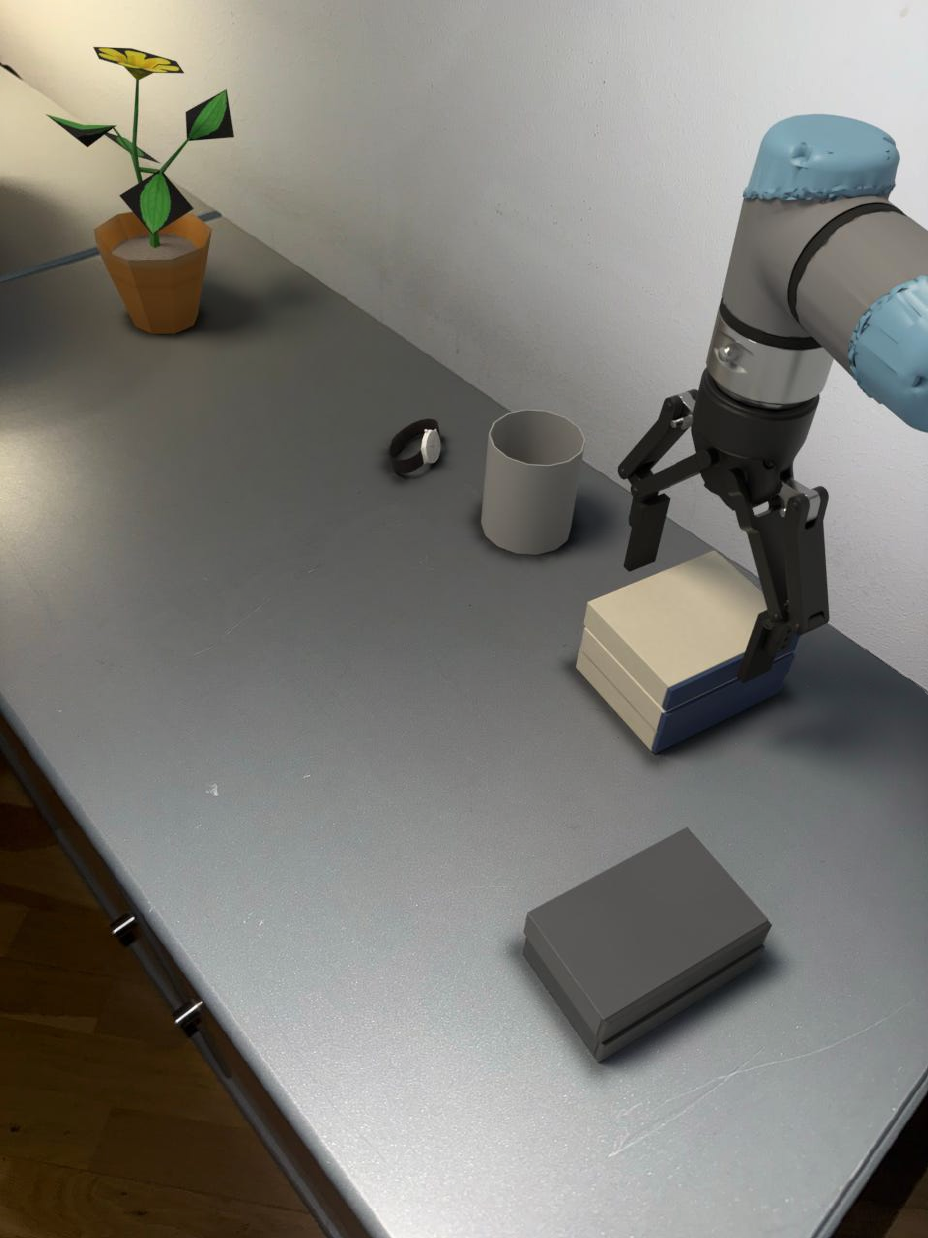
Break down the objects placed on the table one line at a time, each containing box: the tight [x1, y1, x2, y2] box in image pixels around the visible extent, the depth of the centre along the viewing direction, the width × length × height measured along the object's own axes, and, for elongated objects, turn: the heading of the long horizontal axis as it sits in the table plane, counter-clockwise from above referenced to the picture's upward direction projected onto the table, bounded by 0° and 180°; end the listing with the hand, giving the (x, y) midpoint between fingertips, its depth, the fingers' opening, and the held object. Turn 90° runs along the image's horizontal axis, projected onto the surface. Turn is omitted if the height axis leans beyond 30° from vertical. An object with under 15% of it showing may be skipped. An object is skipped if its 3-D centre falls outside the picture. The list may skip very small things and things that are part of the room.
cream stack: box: [575, 626, 796, 754], centre depth 87 cm, size 10×13×5 cm
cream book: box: [583, 549, 801, 711], centre depth 85 cm, size 10×13×2 cm
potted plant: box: [45, 46, 235, 335], centre depth 114 cm, size 18×19×30 cm
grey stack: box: [522, 826, 773, 1063], centre depth 70 cm, size 9×13×5 cm, turn 122°
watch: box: [387, 418, 441, 474], centre depth 107 cm, size 8×5×4 cm, turn 159°
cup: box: [480, 409, 586, 556], centre depth 98 cm, size 8×8×10 cm
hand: (693, 616), depth 84 cm, fingers open, 13 cm apart
